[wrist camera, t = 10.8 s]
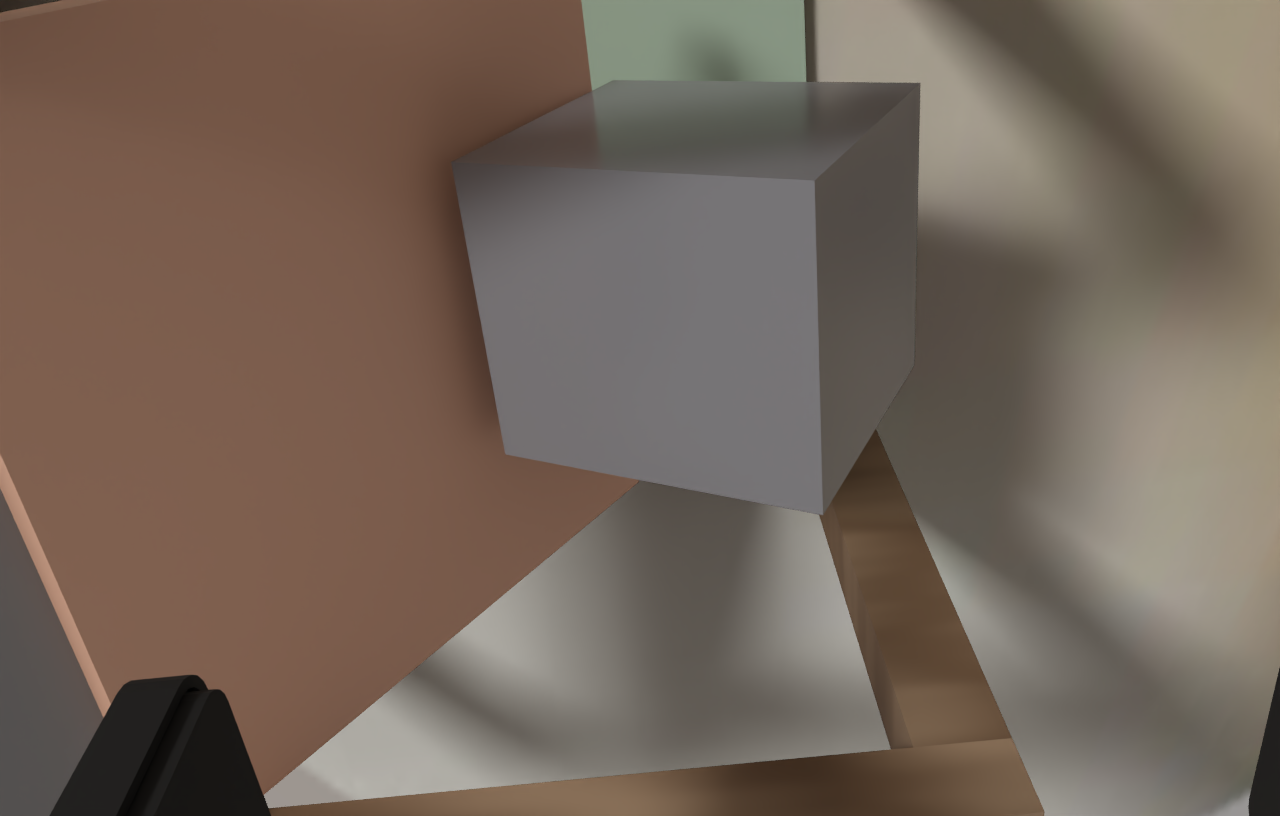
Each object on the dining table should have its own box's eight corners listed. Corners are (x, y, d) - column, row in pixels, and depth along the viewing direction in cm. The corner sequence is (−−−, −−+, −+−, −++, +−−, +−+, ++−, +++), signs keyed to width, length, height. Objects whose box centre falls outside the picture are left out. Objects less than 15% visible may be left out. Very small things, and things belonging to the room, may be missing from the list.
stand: (103, 495, 31) (-268, 1002, 18) (-147, -135, 23) (-1125, -68, 10) (849, 419, 30) (1037, 882, 17) (842, -250, 23) (1167, -335, 10)
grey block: (613, 79, 21) (919, 82, 19) (640, 331, 24) (914, 365, 21) (451, 161, 17) (814, 180, 15) (505, 454, 20) (822, 515, 17)
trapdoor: (-403, 1047, 15) (-291, 1256, 13) (-1183, 202, 9) (-1260, 279, 7) (493, 437, 27) (639, 481, 25) (394, -85, 22) (569, -95, 19)
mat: (798, -112, 24) (801, -111, 24) (811, 341, 29) (813, 348, 29) (301, -56, 24) (297, -54, 24) (402, 384, 30) (399, 391, 29)
